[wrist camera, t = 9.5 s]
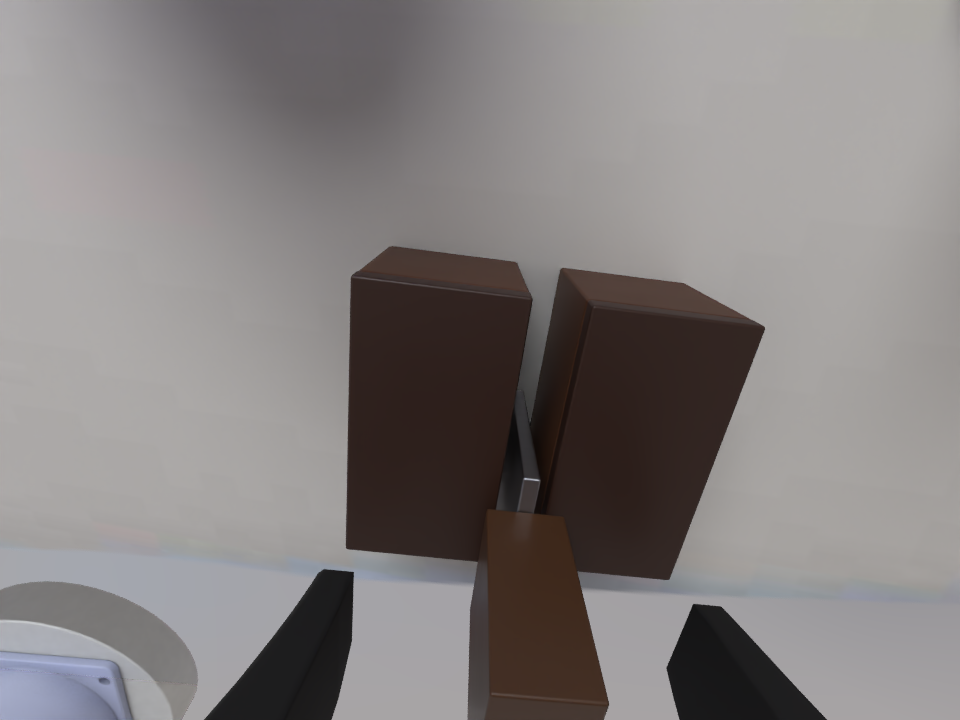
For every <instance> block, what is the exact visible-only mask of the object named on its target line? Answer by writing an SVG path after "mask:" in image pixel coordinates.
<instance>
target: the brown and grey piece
mask: <svg viewBox="0 0 960 720" xmlns="http://www.w3.org/2000/svg"><path fill="white" fill-rule="evenodd" d="M540 481H541V480H540V475H539V470H538V465H537V459H536V454H535V449H534V444H533V439H532V434H531V429H530V423H529V418H528V413H527V408H526V403H525V398H524V392H523V391H520V390H517V392H516V398H515V404H514V409H513V415H512V421H511V427H510V432H509V438H508V444H507V450H506V455H505V461H504V467H503V473H502V478H501V484H500V490H499V496H498V501H497V507H496V510H493V509H487V511H486V516H485V522H484V528H483V534H482V540H481V546H480V552H479V559H478V565H477V571H476V577H475V583H474V590H473V595H472V601H471V607H470V642H469V643H470V644H469V683H468V720H604V717H605V715H606V712H607V709H608V706H609V701H608V697H607V693H606V689H605V685H604V681H603V677H602V672H601V668H600V664H599V660H598V656H597V652H596V648H595V643H594V640H593V636H592V631H591V627H590V623H589V619H588V615H587V610H586V606H585V602H584V598H583V594H582V590H581V585H580V581H579V577H578V573H577V569H576V565H575V561H574V556H573V552H572V548H571V544H570V540H569V536H568V532H567V527H566V523H565V519H564V517H562V516H552V515H542V514H534V509H535V505H536V500H537V495H538V491H539V486H540Z"/></svg>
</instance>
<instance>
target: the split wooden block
mask: <svg viewBox="0 0 960 720" xmlns="http://www.w3.org/2000/svg"><path fill="white" fill-rule="evenodd" d="M531 306H532V297H531V294H530V293H529V291H528V289H527V286H526V284H525V282H524V279H523V277H522V274H521V272H520V269H519V267H518V264H517V263H516V262H511V261H503V260H495V259H488V258H480V257H472V256H464V255H456V254H448V253H441V252H433V251H425V250H417V249H409V248H401V247H394V246H391V247H388V248H387V249H386V250H385V251H383V252H382V253H381V254H380V255H378V256H377V257H376V258H375V259H373V260H372V261H371V262H370V263H368V264H367V265H366V266H365V267H363V268H362V269H361V270H360V271H357V272H356V273H354V274H353V275H352V276H351V299H350V353H349V407H348V461H347V514H346V549H351V550H362V551H372V552H382V553H393V554H403V555H413V556H424V557H434V558H444V559H455V560H465V561H475V562H478V559H479V552H480V546H481V540H482V534H483V528H484V522H485V516H486V511H487V509H493V510H496V507H497V501H498V496H499V490H500V484H501V478H502V473H503V467H504V461H505V455H506V450H507V444H508V438H509V432H510V427H511V421H512V415H513V409H514V404H515V398H516V392H517V386H518V381H519V375H520V369H521V363H522V358H523V352H524V346H525V340H526V335H527V329H528V323H529V317H530V312H531ZM764 330H765V327H764V326H762V325H760V324H759V323H757V322H755V321H753V320H750V319H749V318H747V317H745V316H743V315H741V314H740V313H738V312H736V311H734V310H732V309H730V308H728V307H727V306H725V305H723V304H721V303H719V302H717V301H715V300H714V299H712V298H710V297H708V296H706V295H704V294H702V293H701V292H699V291H697V290H695V289H693V288H691V287H689V286H688V285H686V284H684V283H677V282H669V281H661V280H653V279H645V278H638V277H630V276H622V275H614V274H606V273H598V272H591V271H583V270H575V269H567V268H562V269H561V270H560V274H559V279H558V284H557V290H556V295H555V300H554V305H553V310H552V316H551V321H550V326H549V331H548V336H547V342H546V347H545V352H544V357H543V362H542V367H541V373H540V378H539V383H538V388H537V393H536V399H535V404H534V409H533V414H532V419H531V425H530V429H531V434H532V439H533V444H534V449H535V454H536V459H537V465H538V470H539V475H540V480H541V481H540V486H539V491H538V495H537V500H536V505H535V509H534V514H542V515H552V516H562V517H564V519H565V523H566V527H567V532H568V536H569V540H570V544H571V548H572V552H573V556H574V561H575V565H576V569H577V571H579V572H590V573H600V574H610V575H621V576H631V577H641V578H652V579H662V580H669V579H670V577H671V574H672V571H673V569H674V566H675V563H676V561H677V558H678V556H679V553H680V550H681V548H682V545H683V542H684V540H685V537H686V535H687V532H688V529H689V527H690V524H691V522H692V519H693V516H694V514H695V511H696V508H697V506H698V503H699V501H700V498H701V495H702V493H703V490H704V488H705V485H706V482H707V480H708V477H709V474H710V472H711V469H712V467H713V464H714V461H715V459H716V456H717V453H718V451H719V448H720V446H721V443H722V440H723V438H724V435H725V433H726V430H727V427H728V425H729V422H730V419H731V417H732V414H733V412H734V409H735V406H736V404H737V401H738V399H739V396H740V393H741V391H742V388H743V385H744V383H745V380H746V378H747V375H748V372H749V370H750V367H751V364H752V362H753V359H754V357H755V354H756V351H757V349H758V346H759V344H760V341H761V338H762V336H763V333H764Z"/></svg>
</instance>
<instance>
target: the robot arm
mask: <svg viewBox="0 0 960 720" xmlns="http://www.w3.org/2000/svg"><path fill="white" fill-rule="evenodd" d="M353 580H354V572H347V571H336V570H326V569H324V570H322V571H321V572H319V573H318V574H317V576H316V578H315V579H314V581H313V582H312V584H311V585H310V587H309V588H308V590H307V591H306V593H305V594H304V595H303V597H302V598H301V600H300V601H299V603H298V604H297V605H296V607H295V608H294V610H293V611H292V612H291V614H290V615H289V616H288V618H287V619H286V620H285V622H284V623H283V624H282V626H281V627H280V628H279V630H278V631H277V633H276V634H275V635H274V636H273V638H272V639H271V640H270V641H269V643H268V644H267V645H266V646H265V648H264V649H263V650H262V651H261V653H260V654H259V655H258V657H257V658H256V659H255V660H254V662H253V663H252V664H251V665H250V666H249V668H248V669H247V670H246V671H245V673H244V674H243V675H242V676H241V678H240V679H239V680H238V681H237V683H236V684H235V685H234V686H233V687H232V688H231V689H230V691H229V692H228V693H227V694H226V695H225V696H224V697H223V699H222V700H221V701H220V702H219V703H218V704H217V706H216V707H215V708H214V709H213V710H212V711H211V712H210V714H209V715H208V716H207V717H206V718H205V719H204V720H331V719H332V716H333V713H334V710H335V707H336V704H337V701H338V697H339V693H340V689H341V685H342V681H343V676H344V672H345V668H346V664H347V659H348V655H349V651H350V646H351V642H352V616H353V615H352V614H353ZM667 672H668V676H669V681H670V685H671V689H672V693H673V697H674V701H675V705H676V708H677V712H678V716H679V719H680V720H827V719H826V718H825V717H824V716H823V715H822V714H821V713H820V712H819V711H818V710H817V709H816V708H815V707H814V706H813V705H812V703H811V702H810V701H808V699H807V698H806V697H805V696H804V695H803V694H802V693H801V692H800V691H799V690H798V689H797V688H796V686H795V685H794V684H793V683H792V682H791V681H790V680H789V679H788V678H787V677H786V676H785V675H784V674H783V672H782V671H781V670H780V669H779V668H778V667H777V666H776V665H775V664H774V663H773V662H772V661H771V659H770V658H769V657H768V656H767V655H766V654H765V653H764V652H763V651H762V650H761V649H760V648H759V646H758V645H757V644H756V643H755V642H754V641H753V640H752V639H751V638H750V637H749V636H748V634H747V633H746V632H745V631H744V630H743V629H742V628H741V627H740V626H739V625H738V624H737V623H736V622H735V621H734V619H733V618H732V617H731V616H730V615H729V614H728V613H727V612H726V611H725V610H724V609H723V608H722V607H720V606H710V605H699V604H693V606H692V609H691V611H690V613H689V616H688V618H687V621H686V623H685V625H684V628H683V630H682V632H681V635H680V637H679V640H678V642H677V645H676V647H675V649H674V651H673V654H672V656H671V659H670V661H669V663H668V666H667ZM0 720H132V717H131V713H130V709H129V705H128V702H127V698H126V694H125V690H124V686H123V682H122V679H121V675H120V671H119V667H118V665H117V664H116V663H115V662H113V661H110V660H102V659H90V658H78V657H66V656H54V655H42V654H30V653H18V652H6V651H0Z"/></svg>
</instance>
